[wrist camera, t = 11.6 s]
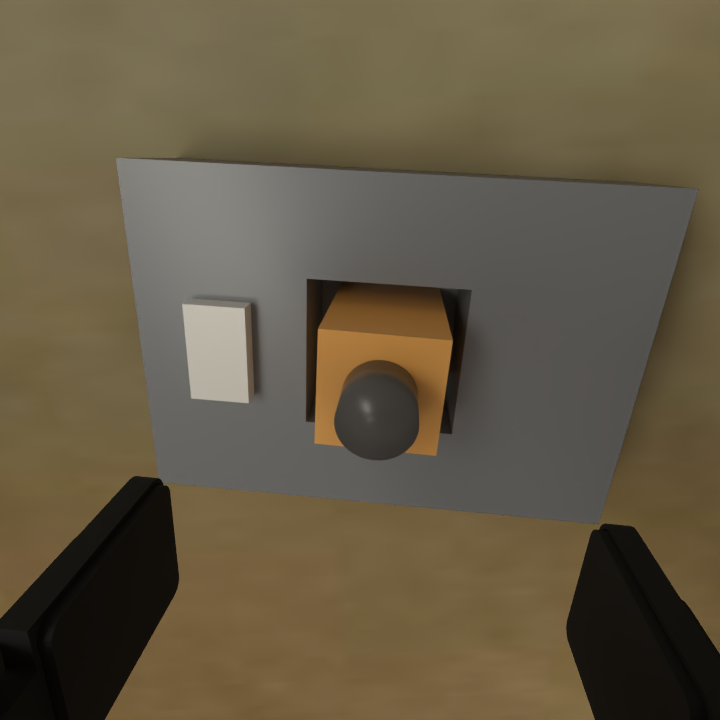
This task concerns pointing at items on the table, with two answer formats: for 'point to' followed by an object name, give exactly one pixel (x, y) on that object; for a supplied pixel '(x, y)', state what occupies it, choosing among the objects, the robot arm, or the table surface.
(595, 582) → the robot arm
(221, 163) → the socket
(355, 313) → the plug
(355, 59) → the table surface
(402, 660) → the table surface
